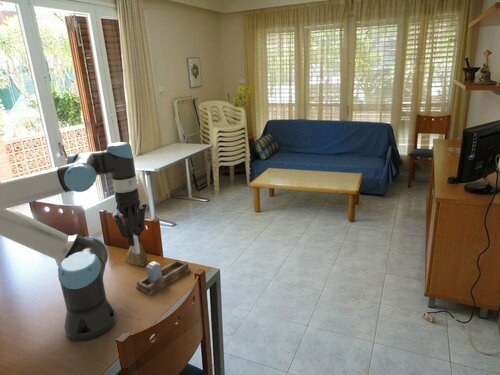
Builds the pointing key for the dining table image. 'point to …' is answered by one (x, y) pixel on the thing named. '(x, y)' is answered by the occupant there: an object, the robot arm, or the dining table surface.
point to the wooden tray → (164, 277)
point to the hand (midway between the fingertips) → (136, 252)
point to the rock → (136, 257)
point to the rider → (154, 272)
